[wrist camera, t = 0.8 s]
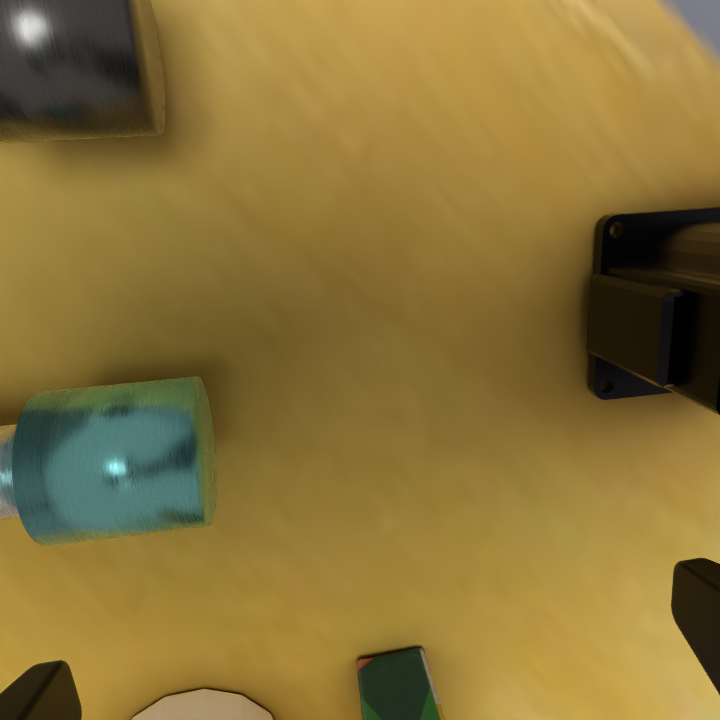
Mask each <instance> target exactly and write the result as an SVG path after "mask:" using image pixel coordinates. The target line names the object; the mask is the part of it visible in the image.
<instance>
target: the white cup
mask: <svg viewBox="0 0 720 720" xmlns="http://www.w3.org/2000/svg"><path fill="white" fill-rule="evenodd" d="M131 720H273V718H272V716H271V714H270V713H269V712H268V711H266V710H265V709H263V708H261V707H260V706H258V705H257V704H255V703H254V702H252V701H250V700H249V699H247V698H246V697H244V696H243V695H240V694H233V693H227V692H221V691H215V690H209V689H201V690H196V691H191V692H186V693H181V694H176V695H171V696H166V697H164V698H162V699H161V700H159V701H158V702H156V703H155V704H153V705H151V706H150V707H148V708H147V709H145V710H144V711H142V712H140V713H139V714H137V715H136V716H134V717H133V718H132V719H131Z"/></svg>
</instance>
